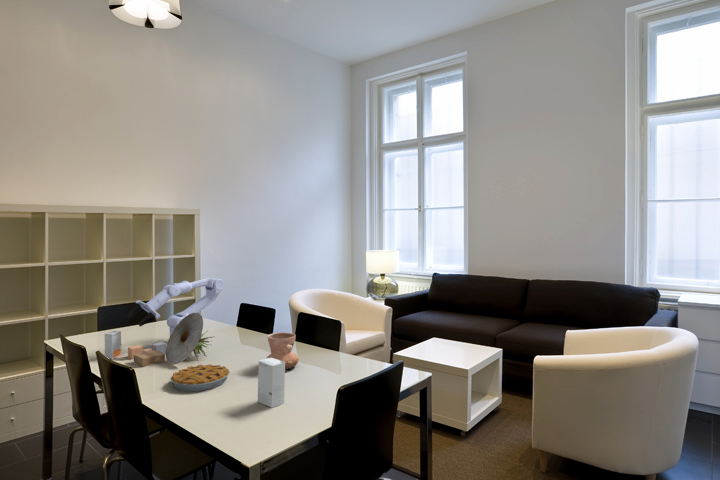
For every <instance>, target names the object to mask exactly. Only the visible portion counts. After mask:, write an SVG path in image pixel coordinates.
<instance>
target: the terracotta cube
mask: <svg viewBox="0 0 720 480" xmlns="http://www.w3.org/2000/svg"><path fill="white" fill-rule="evenodd" d="M143 349H144V346H142V345H140V344H138V345H132V346H128V347H127V358H128V359H130V360H134V356H133V355H134V354H139V353H143Z"/></svg>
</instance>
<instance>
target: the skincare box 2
mask: <svg viewBox="0 0 720 480" xmlns="http://www.w3.org/2000/svg"><path fill="white" fill-rule="evenodd" d="M266 358H267V357H266ZM266 358H264V359H259V360H258V370H257V371H258V372H257V374H258V376H257V378H258V379H257V402H258V404H259V403H260V404H263V405H264V406H267V407H269V408H275V407H277V406H280V405H282V404H285V389H286V388H285V386H286V385H285V383H286V382H285V381H286V379H285V377H286V370H285V362H282V361H280V360H277V359H274V358H267V359H266Z"/></svg>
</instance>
